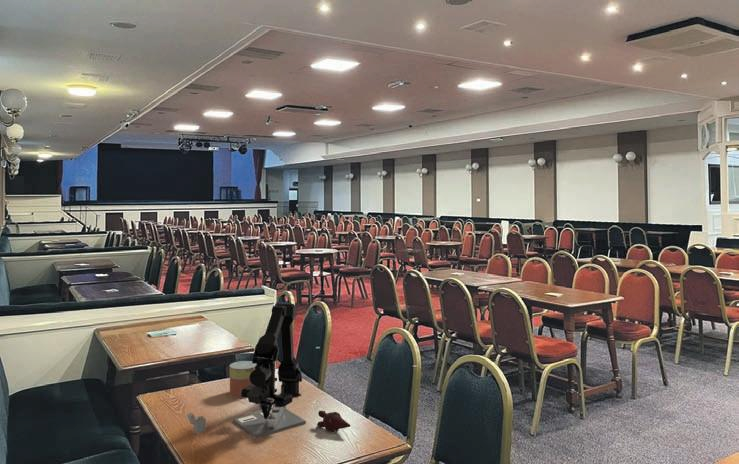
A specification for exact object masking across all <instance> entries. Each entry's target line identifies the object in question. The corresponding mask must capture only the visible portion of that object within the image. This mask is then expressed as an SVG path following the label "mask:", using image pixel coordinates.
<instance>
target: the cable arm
mask: <svg viewBox="0 0 739 464" xmlns="http://www.w3.org/2000/svg"><path fill="white" fill-rule="evenodd" d="M286 406H287V405H286ZM286 406H284V407H280V406H276V405H275V404H274V406H273V408H274V409H272V411H271V414H270V416H269V417H268V419H267V421H268V427H273V428H275V426H276V424H277V422H278V421H279V419H280V417H281V415H282V413H283V411H284V410H285V409H287V408H286Z"/></svg>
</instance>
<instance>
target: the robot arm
mask: <svg viewBox="0 0 739 464" xmlns="http://www.w3.org/2000/svg"><path fill="white" fill-rule="evenodd" d="M297 313H298V307H297V306H296V304H294V303H289V302H288V303H287V302H285V303H284V302H281V303H280V302H278V303H277V304H276V305H272V307H271V315H270V318H269V321H268V324H267V327H266V329H265V333H264V334H263V335H262V336H261V337H259V339H258V341H257V342H256V343H257V344H255V347H254V351H253V356H252V360H251V361H252V363H253V364H256V366H255V369H254V370H253V371H252V372H251V374H250V376H249V378H250V382H251V383H252V384H253V385H249V386H247V387H245V388H243V389H242V391H241V397H244V398H243V399H247V400H248V402H249V403H251V404H252V403H253V404H255V405H259V407H260V409H261V410H260V411H262V413H263V415H264V418H265V419H267V418H268V416H269V413H270V411H271V409H272V408H274V406H275V405H276V406H280V407H284V406H287V405H289V404H291V403H292V402H293V398H296V397H301V396H302V394H301V393H300V383H301V382H302V381H303V372H302V370H301V368H300V367H299V366H300V365H299V361H298V360H297V359H296V357H295V351H294V336H293V335H294V333H293V322H294V321H295V319H296V316H297ZM279 334H280V339H281V342H280V343H281V354H282V355H281V356H282V357H281V359H282V361H281V362H280V364H279V365H278V367H277V376H278V377H276V362H277V361H278V358H279V353H280V348H279V342H278V337H279ZM277 381H278V382H279V383H280V382H281V385H280V393H279V394H278V393H277V392H278V389H277V388H276V382H277ZM254 385H255V386H254ZM276 393H277V394H276Z"/></svg>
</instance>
